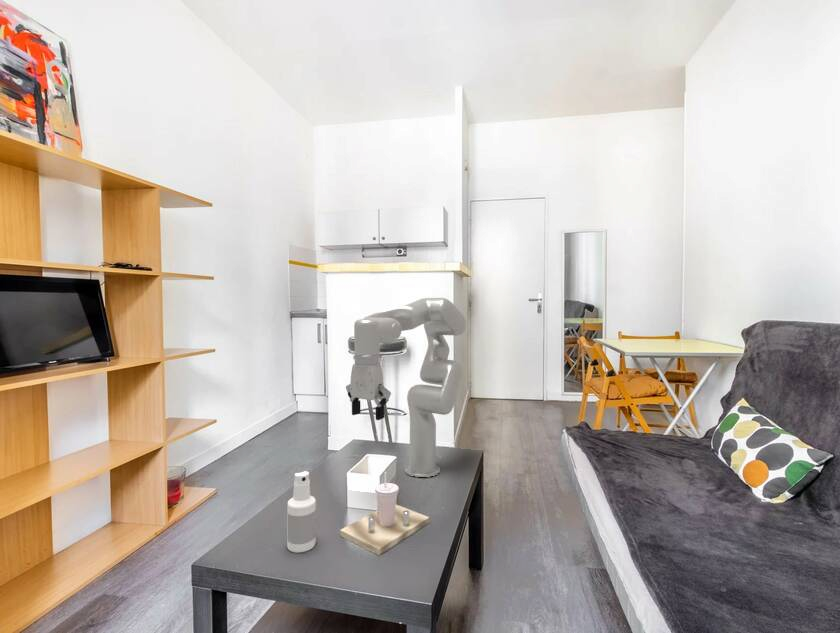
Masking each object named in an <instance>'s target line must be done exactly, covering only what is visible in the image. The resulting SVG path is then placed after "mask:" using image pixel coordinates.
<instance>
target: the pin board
mask: <svg viewBox="0 0 840 633" xmlns="http://www.w3.org/2000/svg"><path fill="white" fill-rule="evenodd" d="M376 506H377V507H376V508H377V510H375V511H373V512H371V513H369V514H367V515H365V516H364V517H362V518H360V519H358V520H356V521H354V522H352V523H351V524H348V525H347V526H345V527H343V528H341V529H339V536H340V537H342V538H343V539H346V540H348V541H350V542H351V543H353V544H356V545H358V546H360V547H361V548H363V549H365V550H368V551H370V552H372V553H373V554H376V555H378V556H380V555H383V553H385V552H387V551H388V550H390V549H392V547H395V546H396V545H398V543H401V541H403V540H405V539H407V538H408V537H409V536H411V535H412V534H414V533H415V532H417V531H419V530H420V529H422V528H423V527H424V526H427V525H428V524H429V523H430V517H429V516H427V515H424V514H422V513H419V512H417V511H415V510H413V509H412V510H411V509H409V508H407V507H405V506H401V505H399V504H396V508H395V516H394V524H393V525H392V526H390V527H383V526H381V525H380V521H379V512H378V504H377V505H376Z"/></svg>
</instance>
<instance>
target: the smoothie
mask: <svg viewBox="0 0 840 633" xmlns="http://www.w3.org/2000/svg"><path fill="white" fill-rule="evenodd" d="M383 477H384V482H383V483H379V484H378V485H376V486H375V487H374V493H375V494H376V495H375V496H376V501H377V502H376V503H377V504H378V512H379V521H380V525H381V526H383V527H390V526H392V525H393V524H394V516H395V508H396V505H397V500H398V493H399V491H400V488H399V486H398V485H397V484H395V483H391V482H387V471H384V476H383Z"/></svg>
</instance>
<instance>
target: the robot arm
mask: <svg viewBox="0 0 840 633" xmlns="http://www.w3.org/2000/svg"><path fill="white" fill-rule="evenodd" d="M421 325H423V329H424V332H425V335H426V337H427V338H426V339H427V350H426V353H425V355H424V358H423V362H422V365H421V367H420V371H419V378H420V380H421V381H422V382H424V383H425V384H415V385H413V386H412V387H410V388H409V390H408V392H407V398H406V399H407V401H406V402H407V406H408V407H407V408H408V410H409V412H408V413H409V464H408V465H406V466H405V468H404V469H405V470H404V471H405V473H406V474H407V475H408V476H411V477H413V476H415V477H414V478H418V477H427V478H432V477H431V476H433V477H436V476H437V475H439V474H440V472H441V468H440V466H439V465H437V463H438V462H440V461H441V460H442V459H443V457H442V455H440V454H439V455H437V454H436V451H437V447H436V446H437V445H436V444H437V422H436V419H435V417H434V414H437V415H440V416H441V415H443V416H445V415H448V414H450V413H451V412H452V411H453V409H454V406H455V405H456V400H457V397H458V394H459V391H460V390H459V389H460V386H461V383H462V377H463V368H462V366H461V364H460V363H459V362H458V361H456V360H453V359H448V358H449V355H450V347H449V344H448V341H447V340H446V338H445V337H444V336H454V337H455V336H462V335H463V334H464V333H465V332H466V329H467V321H466V317H465V315H464V314H463V313H462V311H461V310H459V308H458V307H457V306H456V305H455V304H454V303H453V302H452V301H451V300H449V299H447V298H446V297H424V298H421V299H417V300H416V301H413V302H411V303H408V304H406V305H403V306H399V307H398V306H397V307H394V308H391V309H386V310H383V311H382V310H381V311H378V312H374V313H372V314H370V315H366V316H365V317H363V318H362V319H357V320H355V321H354V324H353V329H354V330H353V333H354V334H353V335H354V336H353V340H354V346H353V347H354V354H353V360H354V364H352V366H351V367H352V368H351V372H350V383H349V384H347V385H346V386H345V389H346V393H347V396H348V397H349V398H348V399H349V401H350V402H351V415H352V416H357V415H359V414H361V400H366V401H374V403H375V404H376V405H375V420H376V421H380V420H383V419H384V418H385V406H386V405H387V403H388V402H389V399H390V397H391V396H392V393H391V391H390V390H388V389H387V387H385V386H384V376H383V369H382V365H381V358H380V357H381V356H380V353H381V352H380V350H381V349H380V347H381V346H380V345H381V344H380V343H381V342H384V343H385V342H387V343H388V342H395V341H396V340H397V339H399V338H400V336H401V334H402V332H404V331H410V330H414V329H416V328H418V327H419V326H421ZM430 384H431V385H430ZM360 399H361V400H360ZM438 473H439V474H438ZM435 475H436V476H435Z"/></svg>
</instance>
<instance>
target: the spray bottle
mask: <svg viewBox="0 0 840 633" xmlns="http://www.w3.org/2000/svg"><path fill="white" fill-rule="evenodd" d="M310 485H311V481H310V472H309V471H307V470H304V471H301V472H295V473H294V481H293V492H292V495H293V496H292V497H291V498H290V499H289V500H288V501H287V509H286V511H287V513H286V514H287V515H286V516H287V517H286V533H287V534H286V536H287V537H286V538H287V539H286V540H287V541H286V546H287V549H288V550H289V551H290V552H292V553H298V554H299V553H305V552H308V551H309V550H311V549H313V548H314V547H315V545H316V539H317V537H316V532H317V528H316V524H317V522H316V520H317V515H316V514H317V513H316V512H317V500H316V498H315V496H313V495H311V489H310V488H311V486H310Z"/></svg>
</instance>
